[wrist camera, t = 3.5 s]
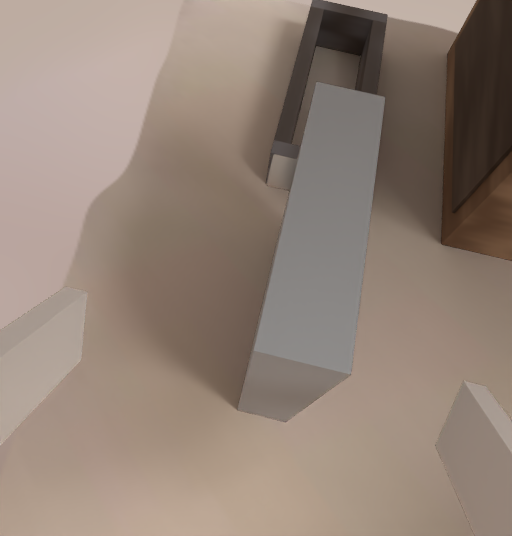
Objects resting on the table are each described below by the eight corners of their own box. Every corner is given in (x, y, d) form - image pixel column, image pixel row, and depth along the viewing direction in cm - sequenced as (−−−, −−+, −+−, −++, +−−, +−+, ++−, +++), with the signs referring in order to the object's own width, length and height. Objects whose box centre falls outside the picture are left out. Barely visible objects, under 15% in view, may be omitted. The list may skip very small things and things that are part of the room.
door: (317, 251, 30) (385, 96, 18) (285, 422, 25) (350, 374, 13) (260, 238, 31) (289, 75, 18) (217, 405, 25) (215, 341, 13)
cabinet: (569, 80, 41) (760, -132, 26) (600, 281, 31) (928, 119, 17) (308, 23, 41) (355, -214, 27) (260, 201, 32) (294, -19, 17)
